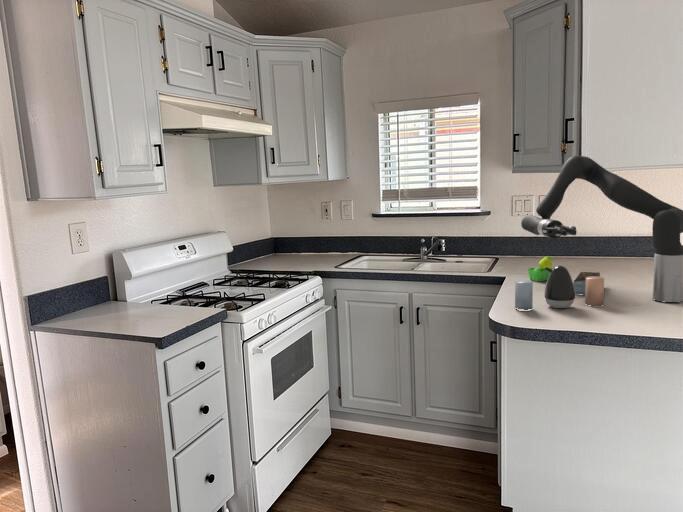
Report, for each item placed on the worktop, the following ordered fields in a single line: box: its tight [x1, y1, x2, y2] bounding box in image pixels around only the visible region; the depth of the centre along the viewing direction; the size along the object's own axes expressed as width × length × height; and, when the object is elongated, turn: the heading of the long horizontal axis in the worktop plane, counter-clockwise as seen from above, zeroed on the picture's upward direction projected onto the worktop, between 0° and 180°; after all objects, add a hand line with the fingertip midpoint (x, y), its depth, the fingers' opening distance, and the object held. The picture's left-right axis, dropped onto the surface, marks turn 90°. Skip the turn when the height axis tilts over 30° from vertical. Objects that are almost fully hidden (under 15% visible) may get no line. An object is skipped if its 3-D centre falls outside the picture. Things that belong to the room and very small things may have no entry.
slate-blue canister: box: [514, 279, 534, 310], centre depth 187 cm, size 6×6×10 cm
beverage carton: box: [573, 271, 601, 296], centre depth 211 cm, size 8×19×7 cm, turn 148°
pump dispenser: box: [544, 265, 576, 309], centre depth 187 cm, size 10×10×15 cm
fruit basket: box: [526, 255, 554, 282], centre depth 234 cm, size 11×9×11 cm
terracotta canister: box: [584, 276, 605, 307], centre depth 188 cm, size 6×6×10 cm
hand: (570, 232), depth 199 cm, fingers open, 3 cm apart
